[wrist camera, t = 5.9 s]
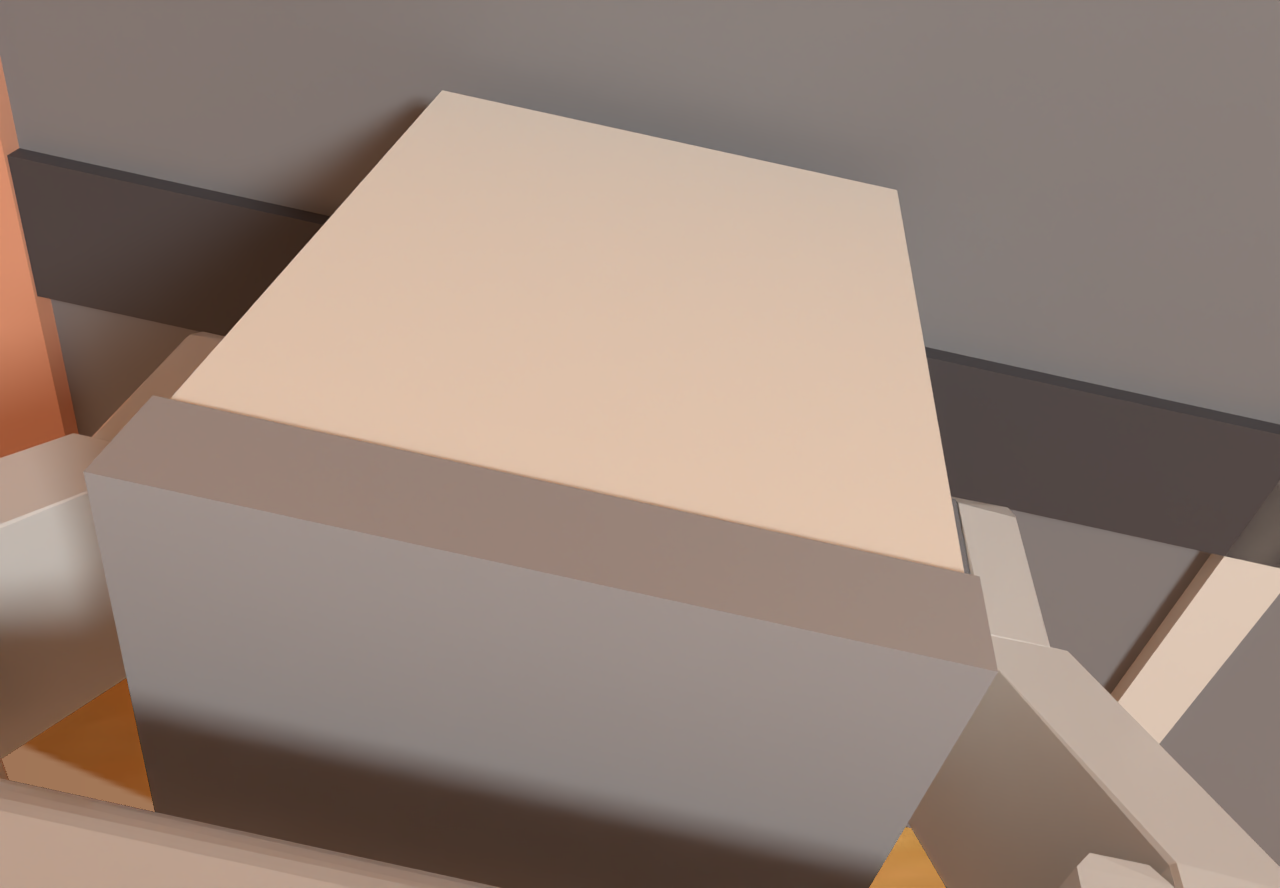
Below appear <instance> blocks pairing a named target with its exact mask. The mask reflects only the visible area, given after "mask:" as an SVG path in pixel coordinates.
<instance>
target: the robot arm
mask: <svg viewBox="0 0 1280 888" xmlns="http://www.w3.org/2000/svg"><path fill="white" fill-rule="evenodd" d="M224 337H225V336H221V335H216V334H212V333H207V332H199V333H195V334H191V335H189V336H188V337H186V338H185V339H184V340H183V341H182V342H181V343H180V345H179V346H178V347H177V348H176V349H175V350H174V351H173V352H172V353H171V354H170V355H169V356H168V357H167V358H166V359H165V360H164V361H163V362H162V363H161V364H160V366H159V367H158V368H157V369H156V370H155V371H154V372H153V373H152V374H151V375H150V376H149V377H148V378H147V379H146V380H145V381H144V382H143V383H142V384H141V386H140V387H139V388H138V389H137V390H136V391H135V392H134V393H133V394H132V395H131V396H130V397H129V398H128V399H127V400H126V401H125V402H124V403H123V404H122V405H121V407H120V408H119V409H118V410H117V411H116V412H115V413H114V414H113V415H112V416H111V417H110V418H109V419H108V420H107V421H106V422H105V423H104V424H103V425H102V427H101V428H100V429H99V430H98V431H97V432H96V433H95V434H94V435H93V436H92V437H89V436H84V435H79V434H75V433H72V434H69V435H67V436H64V437H61V438H58V439H55V440H52V441H49V442H46V443H43V444H40V445H37V446H34V447H31V448H28V449H26V450H23V451H20V452H17V453H14V454H11V455H8V456H5V457H2V458H0V888H500V887H495V886H491V885H486V884H481V883H477V882H472V881H468V880H463V879H459V878H454V877H449V876H445V875H440V874H436V873H431V872H427V871H422V870H418V869H413V868H408V867H404V866H399V865H395V864H390V863H386V862H381V861H376V860H372V859H367V858H363V857H358V856H354V855H349V854H344V853H340V852H335V851H331V850H326V849H322V848H317V847H312V846H308V845H303V844H299V843H294V842H290V841H285V840H281V839H276V838H271V837H267V836H262V835H258V834H253V833H249V832H244V831H239V830H235V829H230V828H226V827H221V826H217V825H212V824H207V823H203V822H198V821H194V820H189V819H185V818H180V817H175V816H171V815H166V814H162V813H157V812H152V811H148V810H143V809H138V808H134V807H130V806H125V805H120V804H116V803H111V802H107V801H101V800H97V799H93V798H88V797H84V796H79V795H74V794H70V793H65V792H61V791H56V790H51V789H47V788H42V787H37V786H33V785H29V784H24V783H19V782H15V781H10V780H9V779H8V776H7V773H6V771H5V767H4V765H3V762H2V758H4V757H5V756H7V755H8V754H10V753H11V752H13V751H14V750H16V749H18V748H19V747H21V746H22V745H24V744H25V743H27V742H28V741H30V740H31V739H33V738H34V737H36V736H38V735H39V734H41V733H42V732H44V731H45V730H47V729H48V728H50V727H51V726H53V725H54V724H56V723H58V722H59V721H61V720H62V719H64V718H65V717H67V716H68V715H70V714H71V713H73V712H75V711H76V710H78V709H79V708H81V707H82V706H84V705H85V704H87V703H88V702H90V701H91V700H93V699H95V698H96V697H98V696H99V695H101V694H102V693H104V692H105V691H107V690H108V689H110V688H111V687H113V686H115V685H116V684H118V683H119V682H121V681H122V680H124V679H125V678H127V677H126V672H125V668H124V663H123V658H122V653H121V649H120V644H119V639H118V634H117V630H116V625H115V620H114V615H113V611H112V606H111V601H110V596H109V592H108V587H107V582H106V577H105V572H104V568H103V563H102V558H101V553H100V549H99V544H98V539H97V534H96V530H95V525H94V520H93V515H92V511H91V506H90V501H89V496H88V492H87V487H86V482H85V477H84V473H83V471H84V470H85V469H86V468H87V467H88V466H89V465H90V464H91V463H92V462H93V460H94V459H95V458H96V457H97V456H98V455H99V454H100V453H101V452H102V451H103V449H104V448H105V447H106V446H107V445H108V444H109V443H110V442H111V441H112V440H113V438H114V437H115V436H116V435H117V434H118V433H119V432H120V431H121V430H122V429H123V427H124V426H125V425H126V424H127V423H128V422H129V421H130V420H131V419H132V418H133V416H134V415H135V414H136V413H137V412H138V411H139V410H140V409H141V408H142V407H143V405H144V404H145V403H146V402H147V401H148V400H149V399H150V398H151V397H152V396H153V395H154V396H158V397H163V398H167V399H170V398H171V397H172V396H173V395H174V394H175V393H176V392H177V390H178V389H179V388H180V387H181V386H182V385H183V384H184V383H185V381H186V380H187V379H188V378H189V377H190V376H191V375H192V373H193V372H194V371H195V370H196V369H197V368H198V367H199V366H200V364H201V363H202V362H203V361H204V360H205V359H206V358H207V356H208V355H209V354H210V353H211V352H212V351H213V350H214V348H215V347H216V346H217V345H218V344H219V343H220V342H221V341H222V339H223V338H224ZM951 500H952V505H953V511H954V517H955V522H956V528H957V534H958V539H959V545H960V551H961V556H962V562H963V568H964V573H966V574H971V575H975V576H980V581H981V586H982V591H983V596H984V601H985V607H986V612H987V617H988V622H989V627H990V633H991V638H992V643H993V648H994V653H995V659H996V664H997V669H998V673H997V674H996V676H995V678H994V679H993V681H992V683H991V684H990V686H989V688H988V690H987V691H986V693H985V695H984V696H983V698H982V700H981V701H980V703H979V705H978V706H977V708H976V710H975V711H974V713H973V715H972V716H971V718H970V720H969V721H968V723H967V725H966V726H965V728H964V730H963V731H962V733H961V735H960V736H959V738H958V740H957V741H956V743H955V745H954V746H953V748H952V750H951V751H950V753H949V755H948V756H947V758H946V760H945V761H944V763H943V765H942V766H941V768H940V770H939V771H938V773H937V775H936V776H935V778H934V780H933V781H932V783H931V785H930V786H929V788H928V790H927V791H926V793H925V795H924V796H923V798H922V800H921V801H920V803H919V805H918V807H917V808H916V810H915V812H914V813H913V815H912V817H911V818H910V820H909V822H908V823H909V825H910V826H911V828H912V830H913V832H914V833H915V835H916V837H917V838H918V840H919V842H920V844H921V845H922V847H923V849H924V850H925V852H926V854H927V856H928V857H929V859H930V861H931V862H932V864H933V866H934V868H935V869H936V871H937V873H938V874H939V876H940V878H941V880H942V881H943V883H944V885H945V886H946V888H1280V867H1279V866H1278V865H1277V864H1276V863H1275V862H1274V861H1273V860H1272V859H1271V858H1270V857H1269V855H1268V854H1267V853H1266V852H1265V851H1264V850H1263V849H1262V848H1261V847H1260V846H1259V845H1258V844H1257V843H1256V842H1255V841H1254V840H1253V839H1252V838H1251V837H1250V836H1249V835H1248V834H1247V833H1246V832H1245V831H1244V830H1243V829H1242V828H1241V827H1240V826H1239V825H1238V824H1237V823H1236V822H1235V821H1234V820H1233V819H1232V818H1231V817H1230V816H1229V815H1228V814H1227V813H1226V812H1225V811H1224V810H1223V809H1222V808H1221V807H1220V806H1219V805H1218V804H1217V803H1216V802H1215V800H1214V799H1213V798H1212V797H1211V796H1210V795H1209V794H1208V793H1207V792H1206V791H1205V790H1204V789H1203V788H1202V787H1201V786H1200V785H1199V784H1198V783H1197V782H1196V781H1195V780H1194V779H1193V778H1192V777H1191V776H1190V775H1189V774H1188V773H1187V772H1186V771H1185V770H1184V769H1183V768H1182V767H1181V766H1180V765H1179V764H1178V763H1177V762H1176V761H1175V760H1174V759H1173V758H1172V757H1171V756H1170V755H1169V754H1168V753H1167V752H1166V751H1165V750H1164V749H1163V748H1162V747H1161V745H1160V744H1159V743H1158V742H1157V741H1156V740H1155V739H1154V738H1153V737H1152V736H1151V735H1150V734H1149V733H1148V732H1147V731H1146V730H1145V729H1144V728H1143V727H1142V726H1141V725H1140V724H1139V723H1138V722H1137V721H1136V720H1135V719H1134V718H1133V717H1132V716H1131V715H1130V714H1129V713H1128V712H1127V711H1126V710H1125V709H1124V708H1123V707H1122V706H1121V705H1120V704H1119V703H1118V702H1117V701H1116V700H1115V699H1114V698H1113V697H1112V696H1111V695H1110V694H1109V693H1108V692H1107V690H1106V689H1105V688H1104V687H1103V686H1102V685H1101V684H1100V683H1099V682H1098V681H1097V680H1096V679H1095V678H1094V677H1093V676H1092V675H1091V674H1090V673H1089V672H1088V671H1087V670H1086V669H1085V668H1084V667H1083V666H1082V665H1081V664H1080V663H1079V662H1078V661H1077V660H1076V659H1075V658H1074V657H1073V656H1072V655H1071V654H1070V653H1069V652H1068V651H1065V650H1061V649H1057V648H1052V647H1050V644H1049V641H1048V637H1047V633H1046V629H1045V625H1044V622H1043V618H1042V614H1041V610H1040V607H1039V603H1038V599H1037V595H1036V591H1035V588H1034V584H1033V580H1032V576H1031V573H1030V569H1029V565H1028V561H1027V558H1026V554H1025V550H1024V546H1023V542H1022V539H1021V535H1020V531H1019V527H1018V524H1017V520H1016V516H1015V515H1014V514H1013V513H1012V511H1011V510H1010V509H1009V508H1008V507H1003V506H998V505H992V504H987V503H982V502H977V501H971V500H966V499H961V498H955V497H951Z"/></svg>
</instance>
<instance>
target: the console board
mask: <svg viewBox="0 0 1280 888" xmlns="http://www.w3.org/2000/svg"><path fill="white" fill-rule="evenodd" d="M442 90H443V91H448V92H453V93H457V94H462V95H466V96H471V97H475V98H480V99H484V100H489V101H494V102H498V103H503V104H507V105H512V106H516V107H521V108H525V109H530V110H535V111H539V112H544V113H548V114H553V115H557V116H562V117H566V118H571V119H576V120H580V121H585V122H589V123H594V124H598V125H603V126H607V127H612V128H617V129H621V130H626V131H630V132H635V133H639V134H644V135H648V136H653V137H658V138H662V139H667V140H671V141H676V142H680V143H685V144H689V145H694V146H699V147H703V148H708V149H712V150H717V151H721V152H726V153H730V154H735V155H740V156H744V157H749V158H753V159H758V160H762V161H767V162H771V163H776V164H781V165H785V166H790V167H794V168H799V169H803V170H808V171H812V172H817V173H822V174H826V175H831V176H835V177H840V178H844V179H849V180H853V181H858V182H863V183H867V184H872V185H876V186H881V187H885V188H890V189H894V190H897V193H898V198H899V204H900V210H901V215H902V221H903V227H904V232H905V238H906V244H907V250H908V255H909V261H910V267H911V272H912V278H913V284H914V289H915V295H916V301H917V306H918V312H919V318H920V323H921V329H922V335H923V340H924V346H925V352H926V358H927V363H928V369H929V375H930V380H931V386H932V392H933V397H934V403H935V409H936V414H937V420H938V426H939V431H940V437H941V443H942V448H943V454H944V460H945V466H946V471H947V477H948V483H949V488H950V494H951V497H955V498H961V499H966V500H971V501H977V502H982V503H987V504H992V505H998V506H1003V507H1008V508H1009V509H1010V510H1011V511H1012V513H1013V514H1014V515H1015V516H1016V520H1017V524H1018V527H1019V531H1020V535H1021V539H1022V542H1023V546H1024V550H1025V554H1026V558H1027V561H1028V565H1029V569H1030V573H1031V576H1032V580H1033V584H1034V588H1035V591H1036V595H1037V599H1038V603H1039V607H1040V610H1041V614H1042V618H1043V622H1044V625H1045V629H1046V633H1047V637H1048V641H1049V644H1050V647H1052V648H1057V649H1061V650H1065V651H1068V652H1069V653H1070V654H1071V655H1072V656H1073V657H1074V658H1075V659H1076V660H1077V661H1078V662H1079V663H1080V664H1081V665H1082V666H1083V667H1084V668H1085V669H1086V670H1087V671H1088V672H1089V673H1090V674H1091V675H1092V676H1093V677H1094V678H1095V679H1096V680H1097V681H1098V682H1099V683H1100V684H1101V685H1102V686H1103V687H1104V688H1105V689H1106V690H1107V692H1108V693H1109V694H1110V695H1111V696H1112V697H1113V698H1114V699H1115V700H1116V701H1117V702H1118V703H1119V704H1120V705H1121V706H1122V707H1123V708H1124V709H1125V710H1126V711H1127V712H1128V713H1129V714H1130V715H1131V716H1132V717H1133V718H1134V719H1135V720H1136V721H1137V722H1138V723H1139V724H1140V725H1141V726H1142V727H1143V728H1144V729H1145V730H1146V731H1147V732H1148V733H1149V734H1150V735H1151V736H1152V737H1153V738H1154V739H1155V740H1156V741H1157V742H1158V743H1159V744H1160V745H1161V747H1162V748H1163V749H1164V750H1165V751H1166V752H1167V753H1168V754H1169V755H1170V756H1171V757H1172V758H1173V759H1174V760H1175V761H1176V762H1177V763H1178V764H1179V765H1180V766H1181V767H1182V768H1183V769H1184V770H1185V771H1186V772H1187V773H1188V774H1189V775H1190V776H1191V777H1192V778H1193V779H1194V780H1195V781H1196V782H1197V783H1198V784H1199V785H1200V786H1201V787H1202V788H1203V789H1204V790H1205V791H1206V792H1207V793H1208V794H1209V795H1210V796H1211V797H1212V798H1213V799H1214V800H1215V802H1216V803H1217V804H1218V805H1219V806H1220V807H1221V808H1222V809H1223V810H1224V811H1225V812H1226V813H1227V814H1228V815H1229V816H1230V817H1231V818H1232V819H1233V820H1234V821H1235V822H1236V823H1237V824H1238V825H1239V826H1240V827H1241V828H1242V829H1243V830H1244V831H1245V832H1246V833H1247V834H1248V835H1249V836H1250V837H1251V838H1252V839H1253V840H1254V841H1255V842H1256V843H1257V844H1258V845H1259V846H1260V847H1261V848H1262V849H1263V850H1264V851H1265V852H1266V853H1267V854H1268V855H1269V857H1270V858H1271V859H1272V860H1273V861H1274V862H1275V863H1276V864H1277V865H1278V866H1279V867H1280V0H0V458H2V457H5V456H8V455H11V454H14V453H17V452H20V451H23V450H26V449H28V448H31V447H34V446H37V445H40V444H43V443H46V442H49V441H52V440H55V439H58V438H61V437H64V436H67V435H69V434H72V433H75V434H79V435H84V436H89V437H92V436H93V435H94V434H95V433H96V432H97V431H98V430H99V429H100V428H101V427H102V425H103V424H104V423H105V422H106V421H107V420H108V419H109V418H110V417H111V416H112V415H113V414H114V413H115V412H116V411H117V410H118V409H119V408H120V407H121V405H122V404H123V403H124V402H125V401H126V400H127V399H128V398H129V397H130V396H131V395H132V394H133V393H134V392H135V391H136V390H137V389H138V388H139V387H140V386H141V384H142V383H143V382H144V381H145V380H146V379H147V378H148V377H149V376H150V375H151V374H152V373H153V372H154V371H155V370H156V369H157V368H158V367H159V366H160V364H161V363H162V362H163V361H164V360H165V359H166V358H167V357H168V356H169V355H170V354H171V353H172V352H173V351H174V350H175V349H176V348H177V347H178V346H179V345H180V343H181V342H182V341H183V340H184V339H185V338H186V337H188V336H189V335H191V334H195V333H199V332H207V333H212V334H216V335H221V336H226V335H227V334H228V333H229V331H230V330H231V329H232V328H233V327H234V326H235V325H236V324H237V322H238V321H239V320H240V319H241V318H242V317H243V316H244V314H245V313H246V312H247V311H248V310H249V309H250V308H251V307H252V305H253V304H254V303H255V302H256V301H257V300H258V299H259V297H260V296H261V295H262V294H263V293H264V292H265V291H266V290H267V288H268V287H269V286H270V285H271V284H272V283H273V282H274V280H275V279H276V278H277V277H278V276H279V275H280V274H281V273H282V271H283V270H284V269H285V268H286V267H287V266H288V265H289V263H290V262H291V261H292V260H293V259H294V258H295V257H296V255H297V254H298V253H299V252H300V251H301V250H302V249H303V248H304V246H305V245H306V244H307V243H308V242H309V241H310V240H311V238H312V237H313V236H314V235H315V234H316V233H317V232H318V231H319V229H320V228H321V227H322V226H323V225H324V224H325V223H326V221H327V220H328V219H329V218H330V217H331V216H332V215H333V214H334V212H335V211H336V210H337V209H338V208H339V207H340V206H341V204H342V203H343V202H344V201H345V200H346V199H347V198H348V197H349V195H350V194H351V193H352V192H353V191H354V190H355V189H356V187H357V186H358V185H359V184H360V183H361V182H362V181H363V179H364V178H365V177H366V176H367V175H368V174H369V173H370V172H371V170H372V169H373V168H374V167H375V166H376V165H377V164H378V162H379V161H380V160H381V159H382V158H383V157H384V156H385V155H386V153H387V152H388V151H389V150H390V149H391V148H392V147H393V145H394V144H395V143H396V142H397V141H398V140H399V139H400V138H401V136H402V135H403V134H404V133H405V132H406V131H407V130H408V128H409V127H410V126H411V125H412V124H413V123H414V122H415V121H416V119H417V118H418V117H419V116H420V115H421V114H422V113H423V111H424V110H425V109H426V108H427V107H428V106H429V105H430V103H431V102H432V101H433V100H434V99H435V98H436V97H437V96H438V94H439V93H440V92H441V91H442ZM906 827H909V828H911V826H910V825H909V823H907V825H906Z"/></svg>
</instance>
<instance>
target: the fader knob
mask: <svg viewBox="0 0 1280 888" xmlns="http://www.w3.org/2000/svg"><path fill="white" fill-rule="evenodd" d="M83 473H84V477H85V482H86V487H87V492H88V496H89V501H90V506H91V511H92V515H93V520H94V525H95V530H96V534H97V539H98V544H99V549H100V553H101V558H102V563H103V568H104V572H105V577H106V582H107V587H108V592H109V596H110V601H111V606H112V611H113V615H114V620H115V625H116V630H117V634H118V639H119V644H120V649H121V653H122V658H123V663H124V668H125V672H126V677H127V682H128V687H129V691H130V696H131V701H132V706H133V710H134V715H135V720H136V725H137V730H138V734H139V739H140V744H141V749H142V753H143V758H144V763H145V768H146V772H147V777H148V782H149V787H150V791H151V796H152V801H153V806H154V810H155V812H157V813H162V814H166V815H171V816H175V817H180V818H185V819H189V820H194V821H198V822H203V823H207V824H212V825H217V826H221V827H226V828H230V829H235V830H239V831H244V832H249V833H253V834H258V835H262V836H267V837H271V838H276V839H281V840H285V841H290V842H294V843H299V844H303V845H308V846H312V847H317V848H322V849H326V850H331V851H335V852H340V853H344V854H349V855H354V856H358V857H363V858H367V859H372V860H376V861H381V862H386V863H390V864H395V865H399V866H404V867H408V868H413V869H418V870H422V871H427V872H431V873H436V874H440V875H445V876H449V877H454V878H459V879H463V880H468V881H472V882H477V883H481V884H486V885H491V886H495V887H500V888H869V887H870V885H871V883H872V882H873V880H874V878H875V877H876V875H877V873H878V872H879V870H880V868H881V867H882V865H883V863H884V862H885V860H886V858H887V857H888V855H889V853H890V852H891V850H892V848H893V847H894V845H895V843H896V842H897V840H898V838H899V837H900V835H901V833H902V832H903V830H904V828H905V827H906V825H907V823H908V822H909V820H910V818H911V817H912V815H913V813H914V812H915V810H916V808H917V807H918V805H919V803H920V801H921V800H922V798H923V796H924V795H925V793H926V791H927V790H928V788H929V786H930V785H931V783H932V781H933V780H934V778H935V776H936V775H937V773H938V771H939V770H940V768H941V766H942V765H943V763H944V761H945V760H946V758H947V756H948V755H949V753H950V751H951V750H952V748H953V746H954V745H955V743H956V741H957V740H958V738H959V736H960V735H961V733H962V731H963V730H964V728H965V726H966V725H967V723H968V721H969V720H970V718H971V716H972V715H973V713H974V711H975V710H976V708H977V706H978V705H979V703H980V701H981V700H982V698H983V696H984V695H985V693H986V691H987V690H988V688H989V686H990V684H991V683H992V681H993V679H994V678H995V676H996V674H997V673H998V669H997V664H996V659H995V653H994V648H993V643H992V638H991V633H990V627H989V622H988V617H987V612H986V607H985V601H984V596H983V591H982V586H981V581H980V576H975V575H971V574H966V573H964V568H963V562H962V556H961V551H960V545H959V539H958V534H957V528H956V522H955V517H954V511H953V505H952V500H951V494H950V488H949V483H948V477H947V471H946V466H945V460H944V454H943V448H942V443H941V437H940V431H939V426H938V420H937V414H936V409H935V403H934V397H933V392H932V386H931V380H930V375H929V369H928V363H927V358H926V352H925V346H924V340H923V335H922V329H921V323H920V318H919V312H918V306H917V301H916V295H915V289H914V284H913V278H912V272H911V267H910V261H909V255H908V250H907V244H906V238H905V232H904V227H903V221H902V215H901V210H900V204H899V198H898V193H897V190H894V189H890V188H885V187H881V186H876V185H872V184H867V183H863V182H858V181H853V180H849V179H844V178H840V177H835V176H831V175H826V174H822V173H817V172H812V171H808V170H803V169H799V168H794V167H790V166H785V165H781V164H776V163H771V162H767V161H762V160H758V159H753V158H749V157H744V156H740V155H735V154H730V153H726V152H721V151H717V150H712V149H708V148H703V147H699V146H694V145H689V144H685V143H680V142H676V141H671V140H667V139H662V138H658V137H653V136H648V135H644V134H639V133H635V132H630V131H626V130H621V129H617V128H612V127H607V126H603V125H598V124H594V123H589V122H585V121H580V120H576V119H571V118H566V117H562V116H557V115H553V114H548V113H544V112H539V111H535V110H530V109H525V108H521V107H516V106H512V105H507V104H503V103H498V102H494V101H489V100H484V99H480V98H475V97H471V96H466V95H462V94H457V93H453V92H448V91H443V90H442V91H441V92H440V93H439V94H438V96H437V97H436V98H435V99H434V100H433V101H432V102H431V103H430V105H429V106H428V107H427V108H426V109H425V110H424V111H423V113H422V114H421V115H420V116H419V117H418V118H417V119H416V121H415V122H414V123H413V124H412V125H411V126H410V127H409V128H408V130H407V131H406V132H405V133H404V134H403V135H402V136H401V138H400V139H399V140H398V141H397V142H396V143H395V144H394V145H393V147H392V148H391V149H390V150H389V151H388V152H387V153H386V155H385V156H384V157H383V158H382V159H381V160H380V161H379V162H378V164H377V165H376V166H375V167H374V168H373V169H372V170H371V172H370V173H369V174H368V175H367V176H366V177H365V178H364V179H363V181H362V182H361V183H360V184H359V185H358V186H357V187H356V189H355V190H354V191H353V192H352V193H351V194H350V195H349V197H348V198H347V199H346V200H345V201H344V202H343V203H342V204H341V206H340V207H339V208H338V209H337V210H336V211H335V212H334V214H333V215H332V216H331V217H330V218H329V219H328V220H327V221H326V223H325V224H324V225H323V226H322V227H321V228H320V229H319V231H318V232H317V233H316V234H315V235H314V236H313V237H312V238H311V240H310V241H309V242H308V243H307V244H306V245H305V246H304V248H303V249H302V250H301V251H300V252H299V253H298V254H297V255H296V257H295V258H294V259H293V260H292V261H291V262H290V263H289V265H288V266H287V267H286V268H285V269H284V270H283V271H282V273H281V274H280V275H279V276H278V277H277V278H276V279H275V280H274V282H273V283H272V284H271V285H270V286H269V287H268V288H267V290H266V291H265V292H264V293H263V294H262V295H261V296H260V297H259V299H258V300H257V301H256V302H255V303H254V304H253V305H252V307H251V308H250V309H249V310H248V311H247V312H246V313H245V314H244V316H243V317H242V318H241V319H240V320H239V321H238V322H237V324H236V325H235V326H234V327H233V328H232V329H231V330H230V331H229V333H228V334H227V335H226V336H225V337H224V338H223V339H222V341H221V342H220V343H219V344H218V345H217V346H216V347H215V348H214V350H213V351H212V352H211V353H210V354H209V355H208V356H207V358H206V359H205V360H204V361H203V362H202V363H201V364H200V366H199V367H198V368H197V369H196V370H195V371H194V372H193V373H192V375H191V376H190V377H189V378H188V379H187V380H186V381H185V383H184V384H183V385H182V386H181V387H180V388H179V389H178V390H177V392H176V393H175V394H174V395H173V396H172V397H171V398H170V399H167V398H163V397H158V396H154V395H153V396H152V397H151V398H150V399H149V400H148V401H147V402H146V403H145V404H144V405H143V407H142V408H141V409H140V410H139V411H138V412H137V413H136V414H135V415H134V416H133V418H132V419H131V420H130V421H129V422H128V423H127V424H126V425H125V426H124V427H123V429H122V430H121V431H120V432H119V433H118V434H117V435H116V436H115V437H114V438H113V440H112V441H111V442H110V443H109V444H108V445H107V446H106V447H105V448H104V449H103V451H102V452H101V453H100V454H99V455H98V456H97V457H96V458H95V459H94V460H93V462H92V463H91V464H90V465H89V466H88V467H87V468H86V469H85V470H84V471H83Z"/></svg>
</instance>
